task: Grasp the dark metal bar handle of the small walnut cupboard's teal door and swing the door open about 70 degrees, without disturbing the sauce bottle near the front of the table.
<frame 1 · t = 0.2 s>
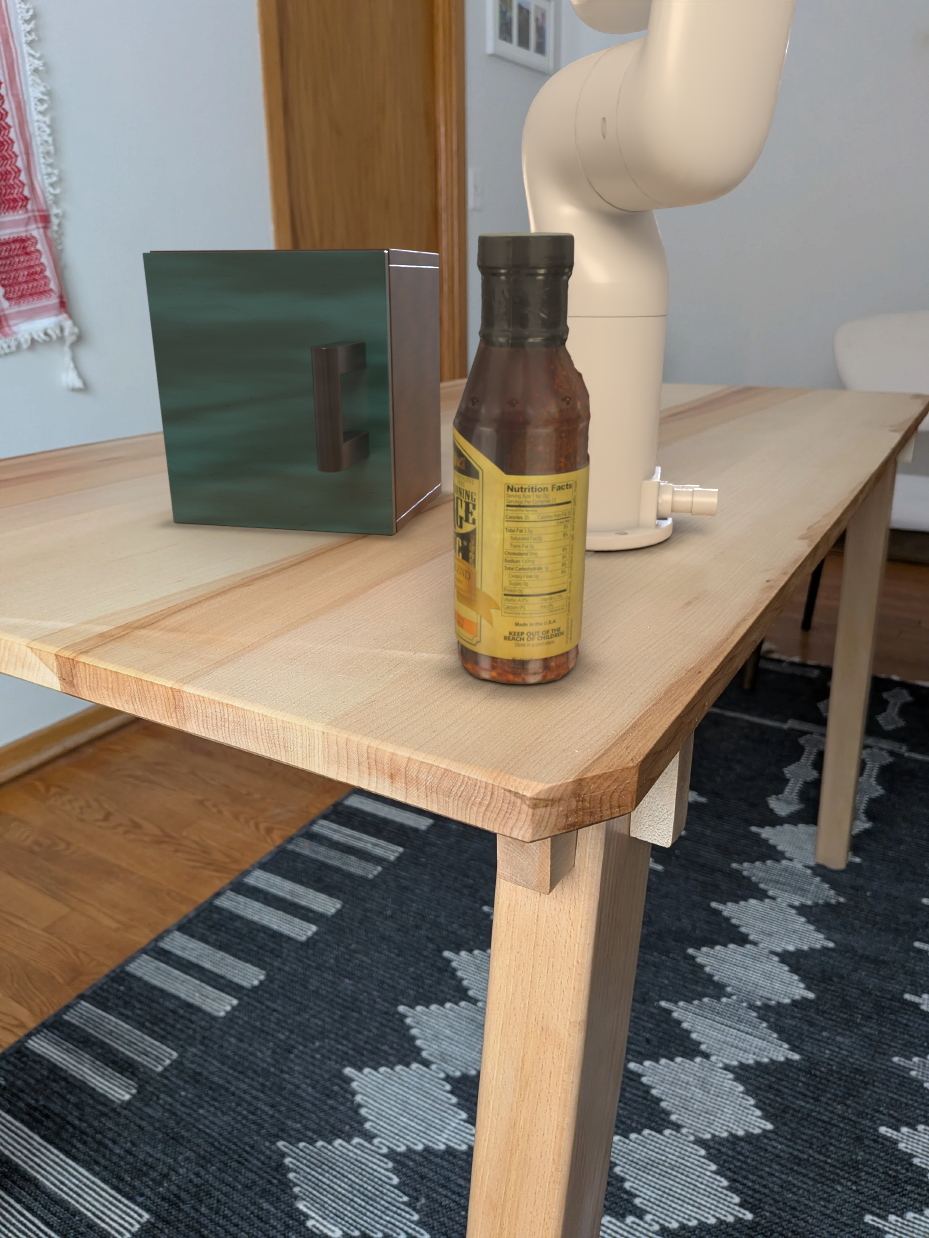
cupboard: (318, 506, 77), on the table
cupboard door: (254, 402, 64), point 10 cm above the table, hinge at 0.0°
sauce bottle: (517, 670, 45), on the table
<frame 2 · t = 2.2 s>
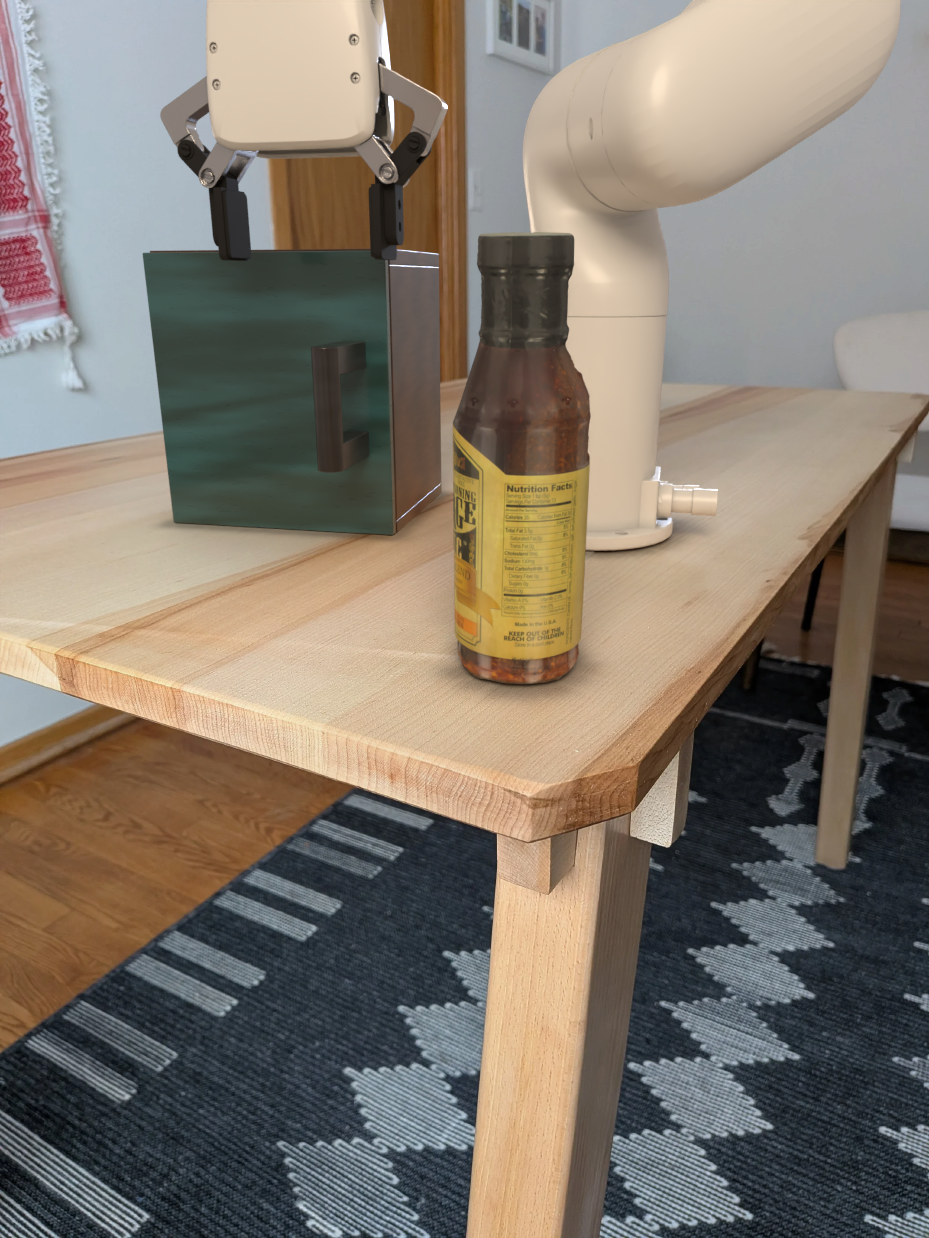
hand: (308, 260, 56), 19 cm above the table, tool pointing down, fingers open, 9 cm apart
nothing on the table moved.
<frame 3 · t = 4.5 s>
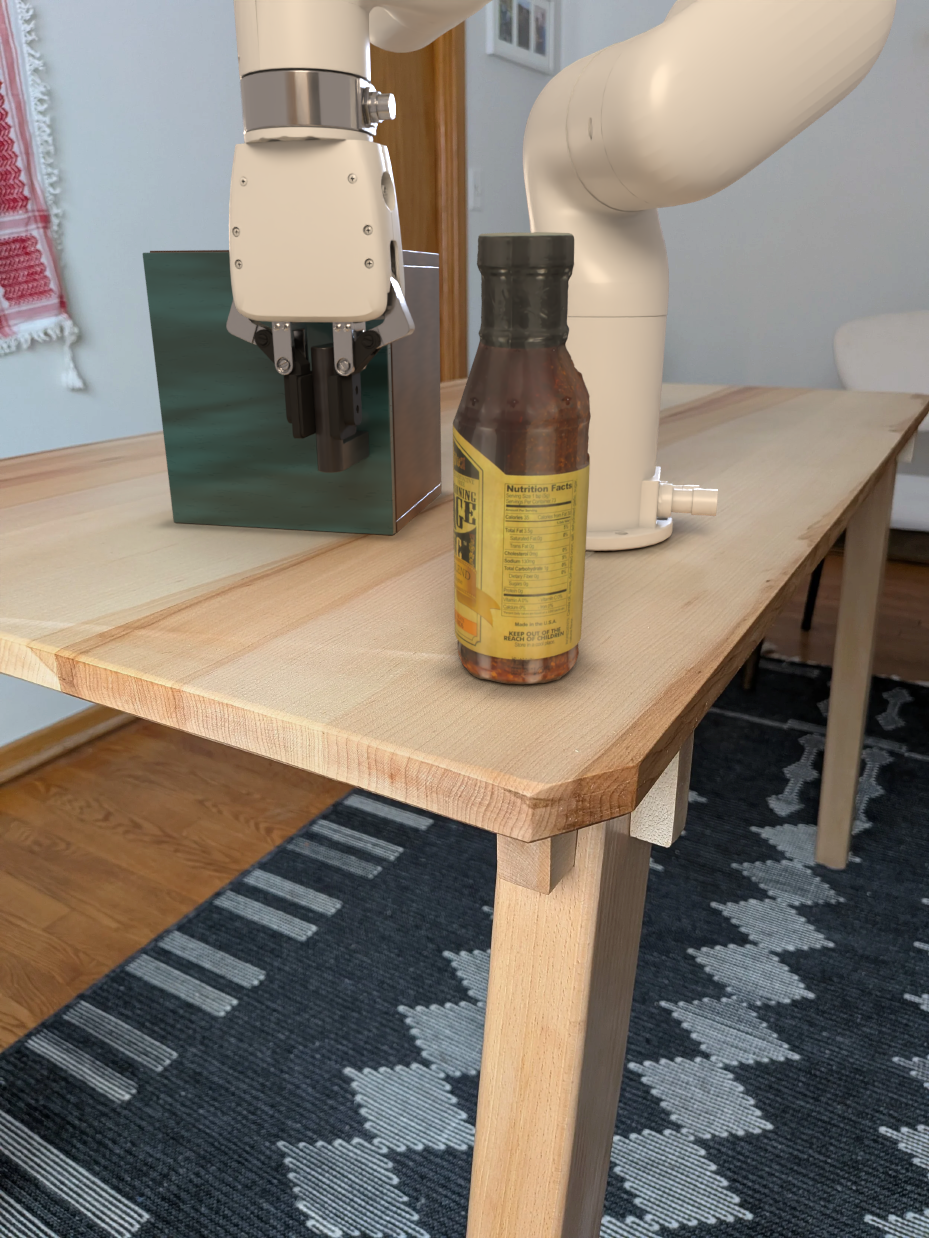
hand: (325, 434, 60), 9 cm above the table, tool pointing down, fingers closed on cupboard door, 2 cm apart
cupboard door: (254, 402, 64), point 10 cm above the table, hinge at 0.0°, touching gripper
everything else where it was.
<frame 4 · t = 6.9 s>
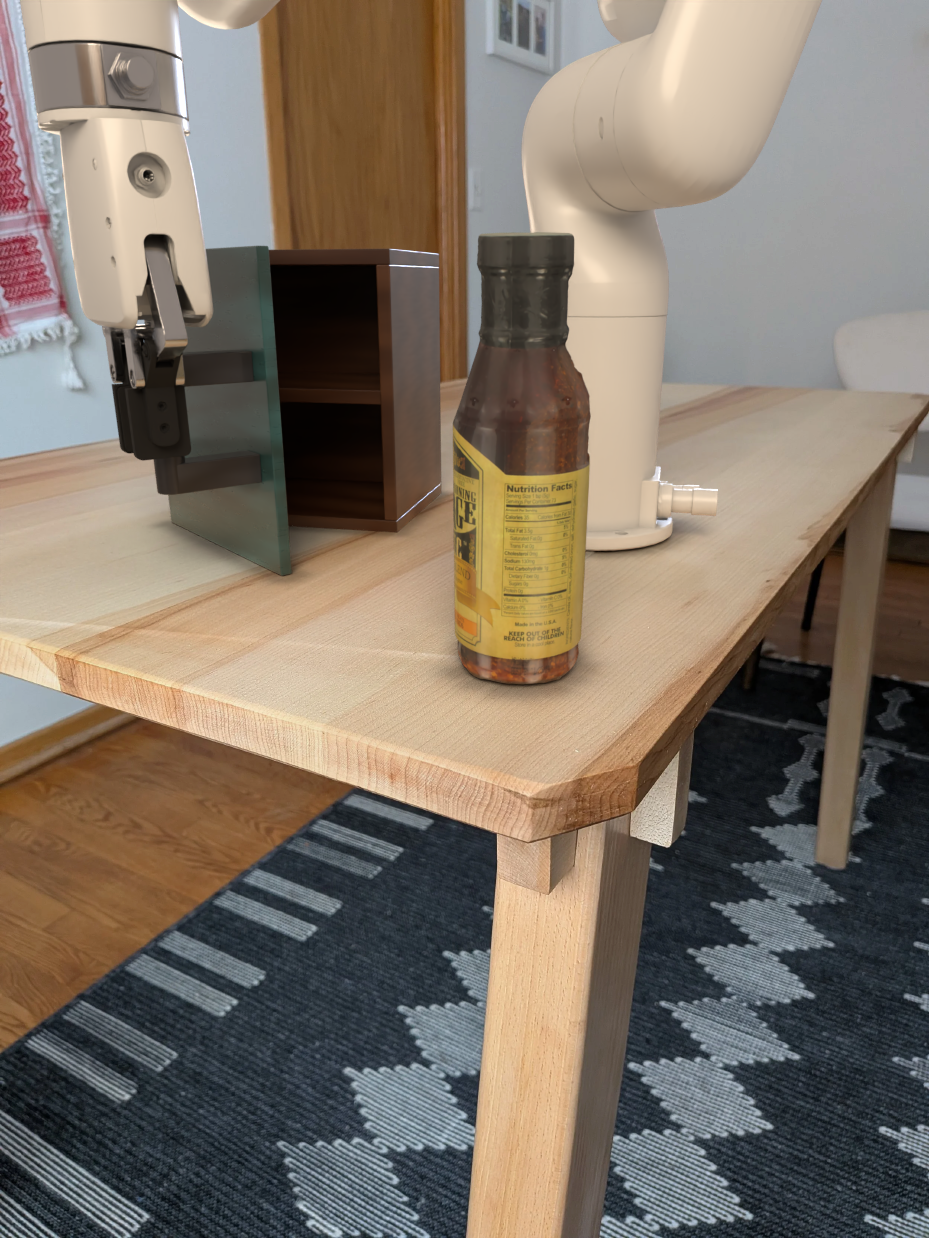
hand: (155, 451, 54), 9 cm above the table, tool pointing down, fingers closed on cupboard door, 2 cm apart
cupboard door: (166, 409, 60), point 10 cm above the table, hinge at 38.5°, touching gripper
everything else where it was.
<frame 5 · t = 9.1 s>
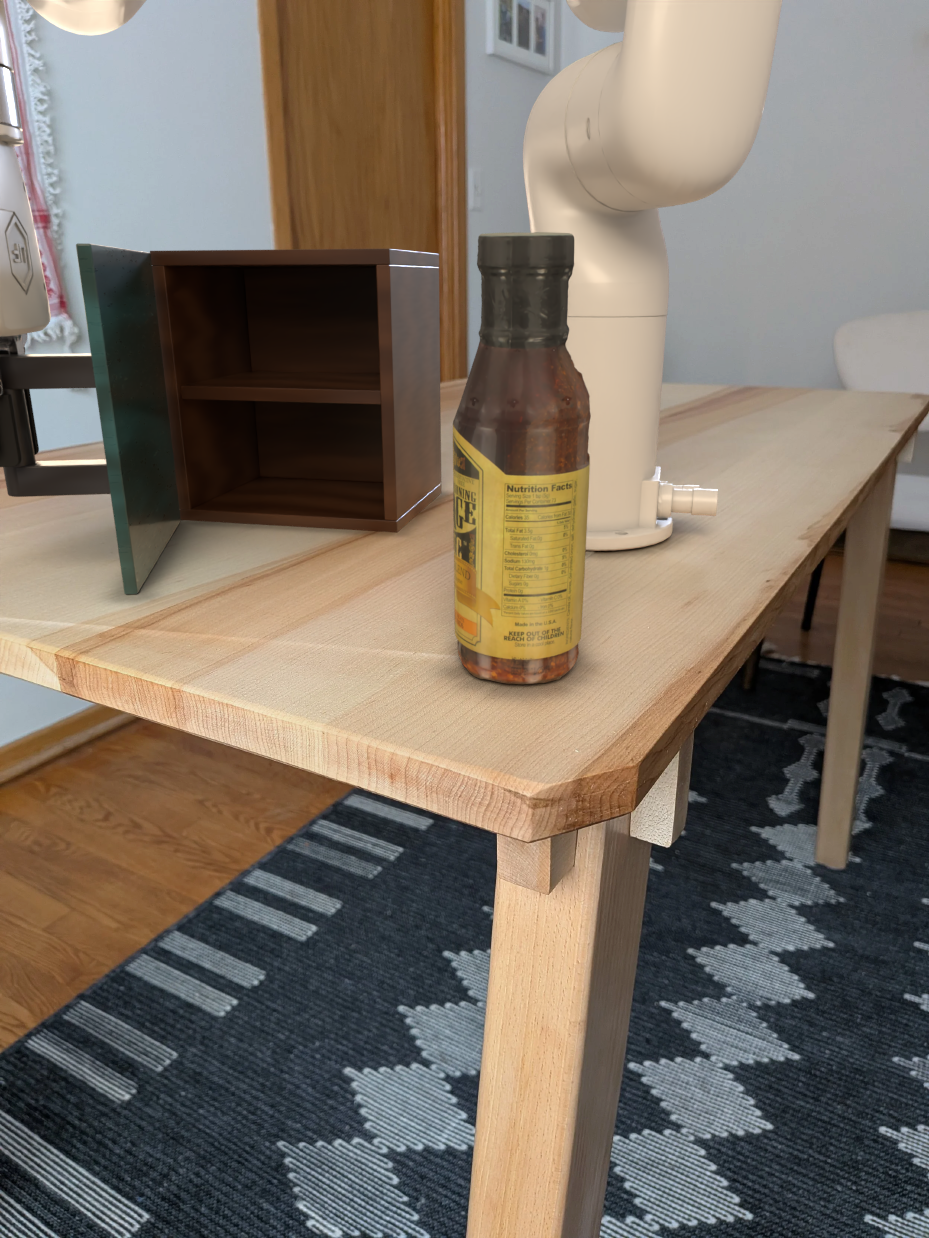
hand: (1, 458, 54), 8 cm above the table, tool pointing down, fingers closed
cupboard door: (87, 410, 60), point 10 cm above the table, hinge at 69.2°
everything else where it was.
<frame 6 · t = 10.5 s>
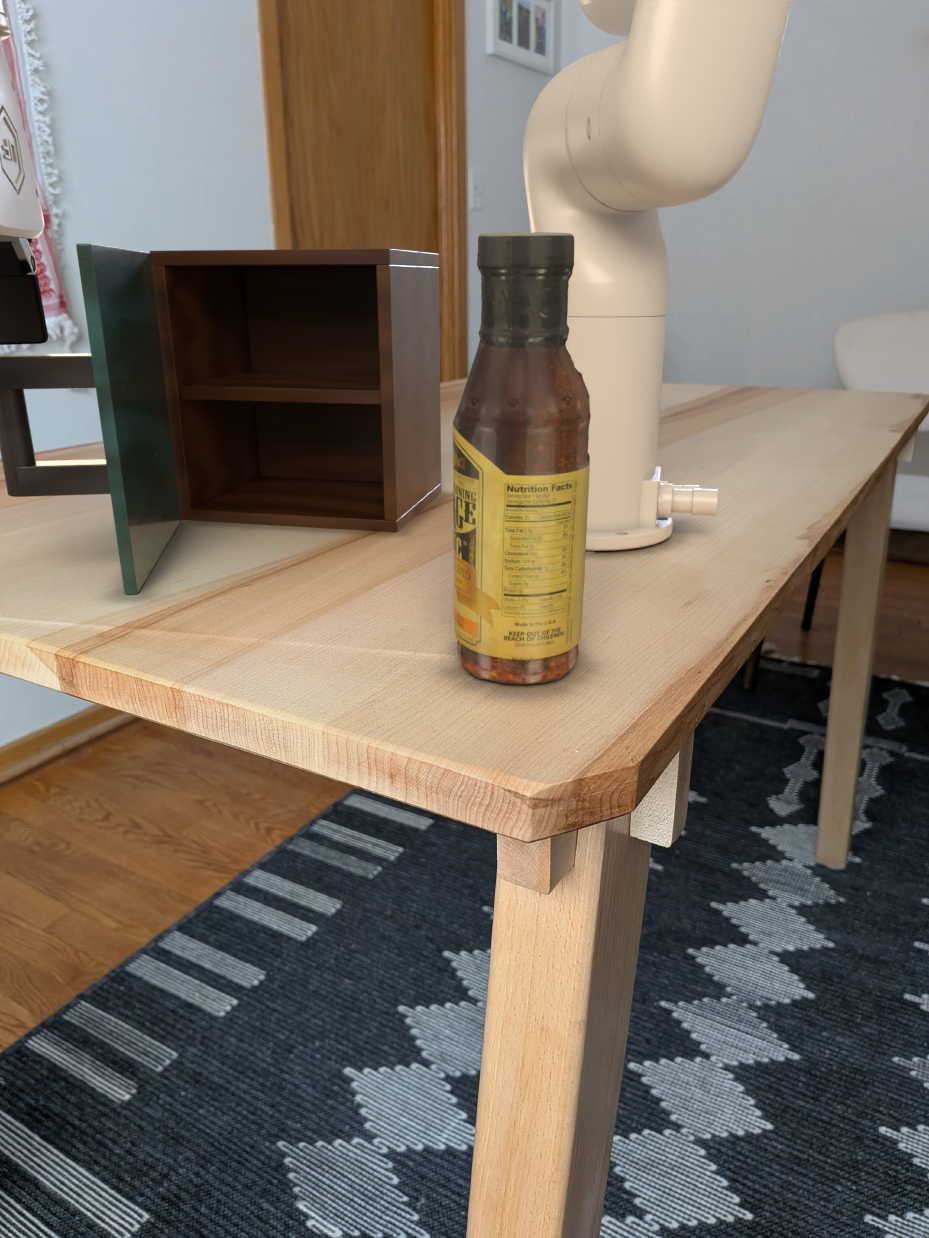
nothing on the table moved.
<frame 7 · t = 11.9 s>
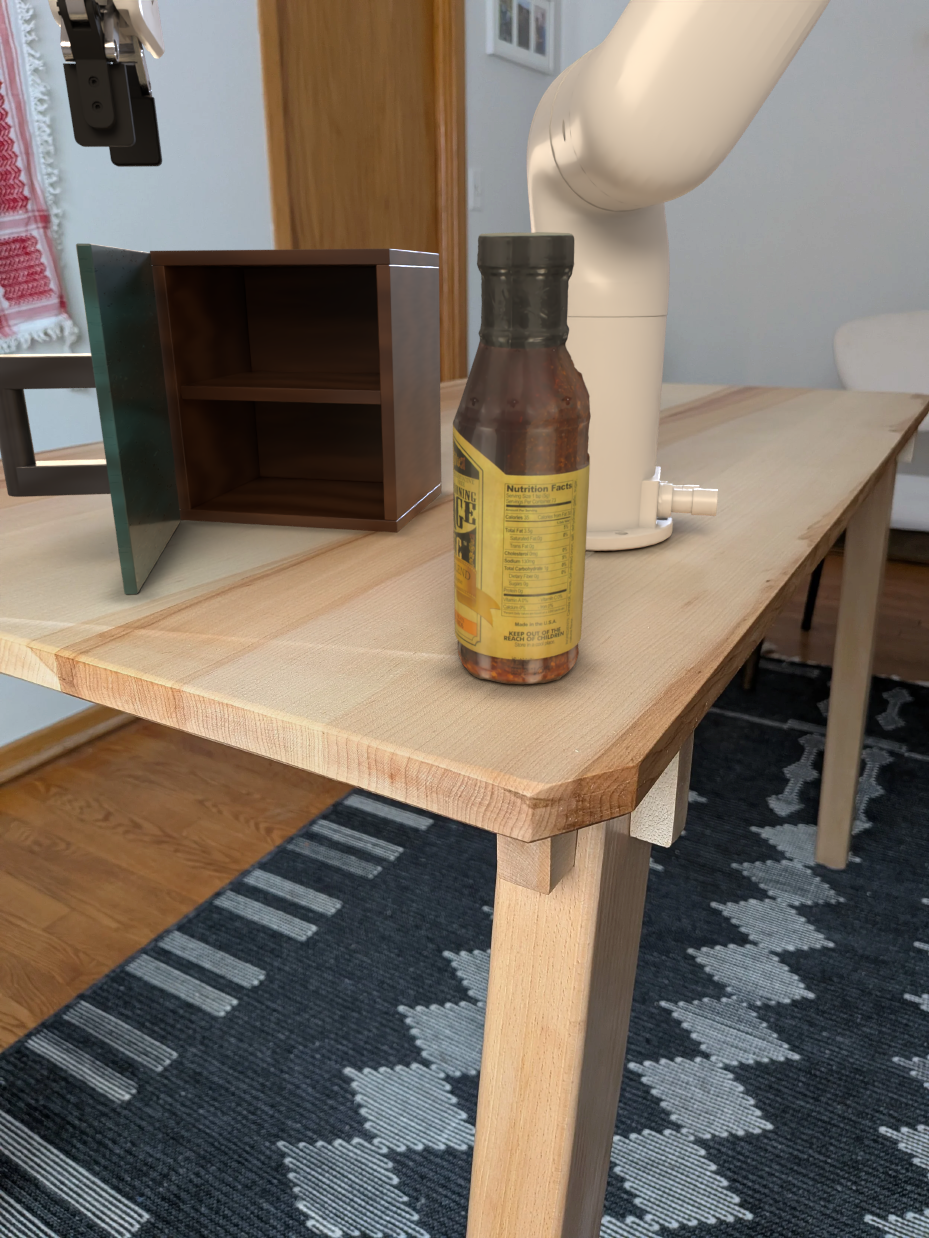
hand: (123, 156, 56), 25 cm above the table, tool pointing down, fingers open, 9 cm apart
nothing on the table moved.
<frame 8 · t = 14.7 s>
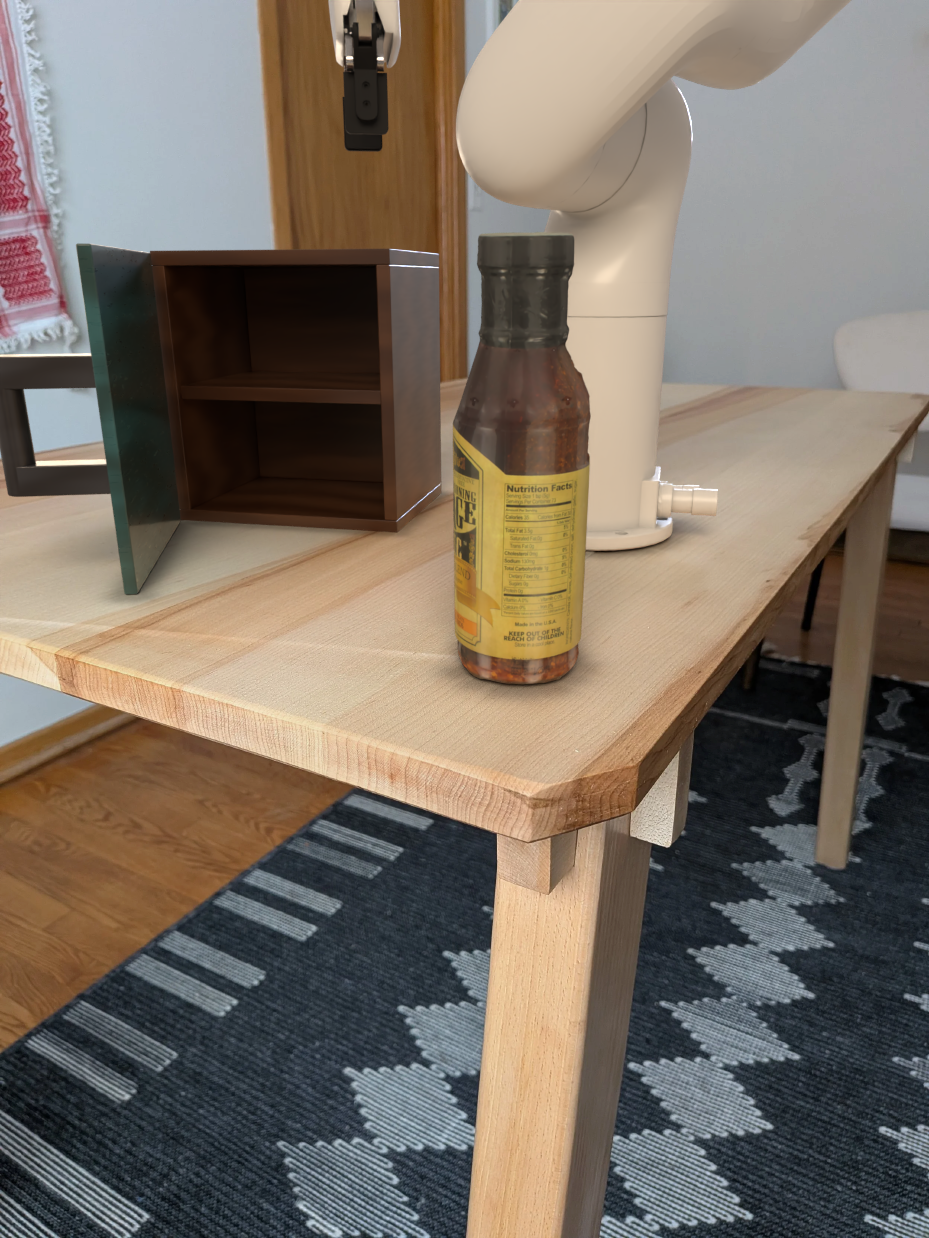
hand: (365, 142, 73), 28 cm above the table, tool pointing down, fingers open, 9 cm apart
nothing on the table moved.
at the end: cupboard door at +69° (first picture: +0°); cupboard door touching nothing; sauce bottle moved 0.2 cm from its start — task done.
